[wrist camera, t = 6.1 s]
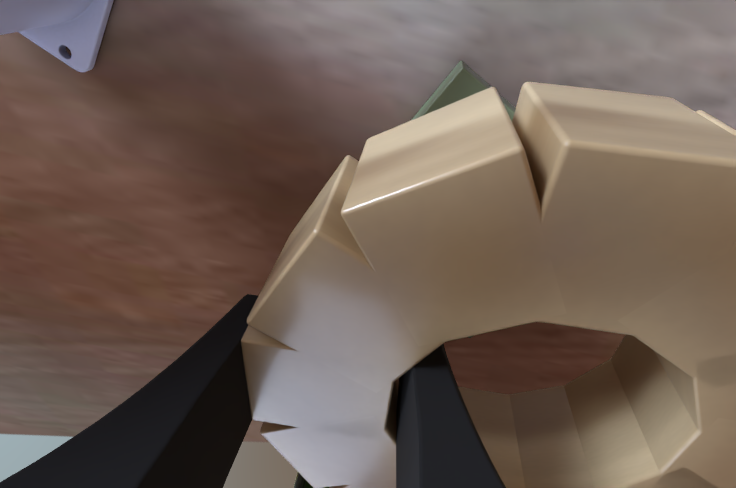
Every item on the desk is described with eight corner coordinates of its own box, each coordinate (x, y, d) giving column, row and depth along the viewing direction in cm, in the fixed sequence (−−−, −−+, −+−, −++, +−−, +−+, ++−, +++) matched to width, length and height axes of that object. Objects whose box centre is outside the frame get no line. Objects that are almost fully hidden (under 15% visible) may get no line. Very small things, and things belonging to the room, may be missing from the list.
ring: (193, 275, 12) (126, 364, 9) (669, -100, 6) (834, -138, 4) (448, 482, 17) (450, 580, 14) (856, 372, 11) (990, 504, 8)
